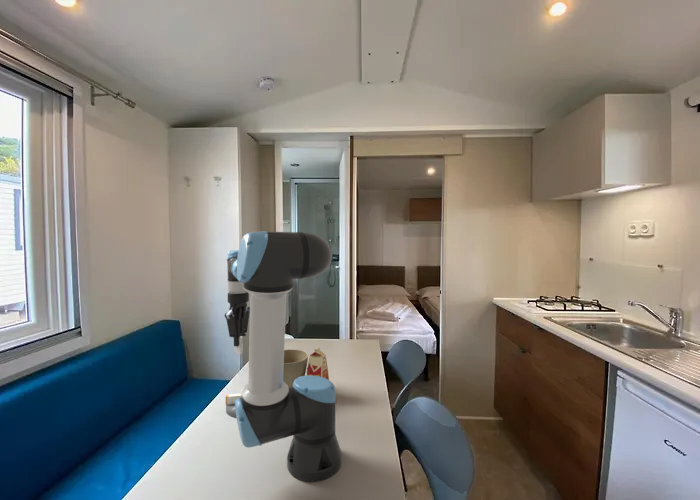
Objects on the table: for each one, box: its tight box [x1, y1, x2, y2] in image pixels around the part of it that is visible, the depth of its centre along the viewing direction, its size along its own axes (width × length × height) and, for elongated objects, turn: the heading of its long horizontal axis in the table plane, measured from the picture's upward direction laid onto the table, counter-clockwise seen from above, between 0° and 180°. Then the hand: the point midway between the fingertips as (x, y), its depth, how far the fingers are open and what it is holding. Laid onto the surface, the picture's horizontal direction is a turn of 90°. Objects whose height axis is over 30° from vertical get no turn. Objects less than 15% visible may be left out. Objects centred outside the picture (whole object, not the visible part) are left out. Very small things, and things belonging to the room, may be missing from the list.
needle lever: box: [225, 388, 243, 405], centre depth 119 cm, size 9×4×4 cm, turn 104°
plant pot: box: [283, 348, 309, 388], centre depth 129 cm, size 15×15×16 cm
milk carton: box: [306, 346, 330, 381], centre depth 128 cm, size 9×9×20 cm
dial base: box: [225, 403, 237, 419], centre depth 120 cm, size 14×14×2 cm
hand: (238, 353), depth 123 cm, fingers closed
